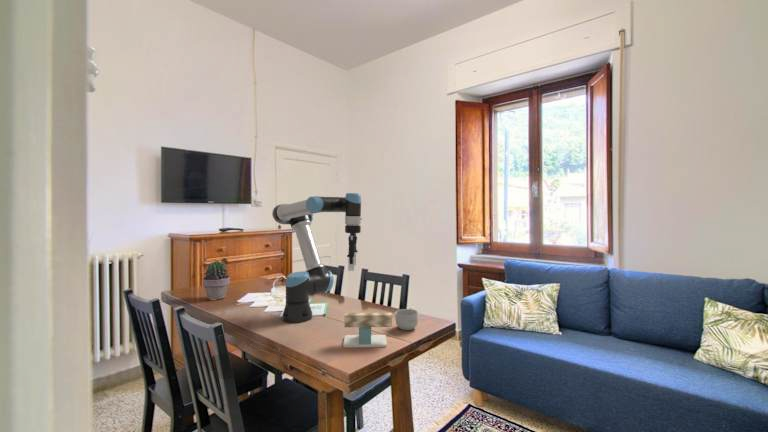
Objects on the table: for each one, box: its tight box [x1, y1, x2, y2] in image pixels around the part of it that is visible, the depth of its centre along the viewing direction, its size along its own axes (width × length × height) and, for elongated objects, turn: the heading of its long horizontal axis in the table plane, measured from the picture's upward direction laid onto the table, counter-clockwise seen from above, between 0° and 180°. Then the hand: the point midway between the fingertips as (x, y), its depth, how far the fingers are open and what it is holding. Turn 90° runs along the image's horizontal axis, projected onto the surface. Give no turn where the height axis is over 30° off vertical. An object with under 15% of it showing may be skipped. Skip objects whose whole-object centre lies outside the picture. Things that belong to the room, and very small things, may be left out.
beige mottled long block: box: [344, 312, 393, 328], centre depth 148 cm, size 20×4×5 cm, turn 92°
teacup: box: [394, 308, 419, 331], centre depth 167 cm, size 14×11×8 cm
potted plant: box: [200, 257, 231, 300], centre depth 218 cm, size 18×20×25 cm
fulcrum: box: [342, 327, 388, 348], centre depth 148 cm, size 18×11×7 cm, turn 92°
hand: (352, 268), depth 170 cm, fingers open, 13 cm apart
